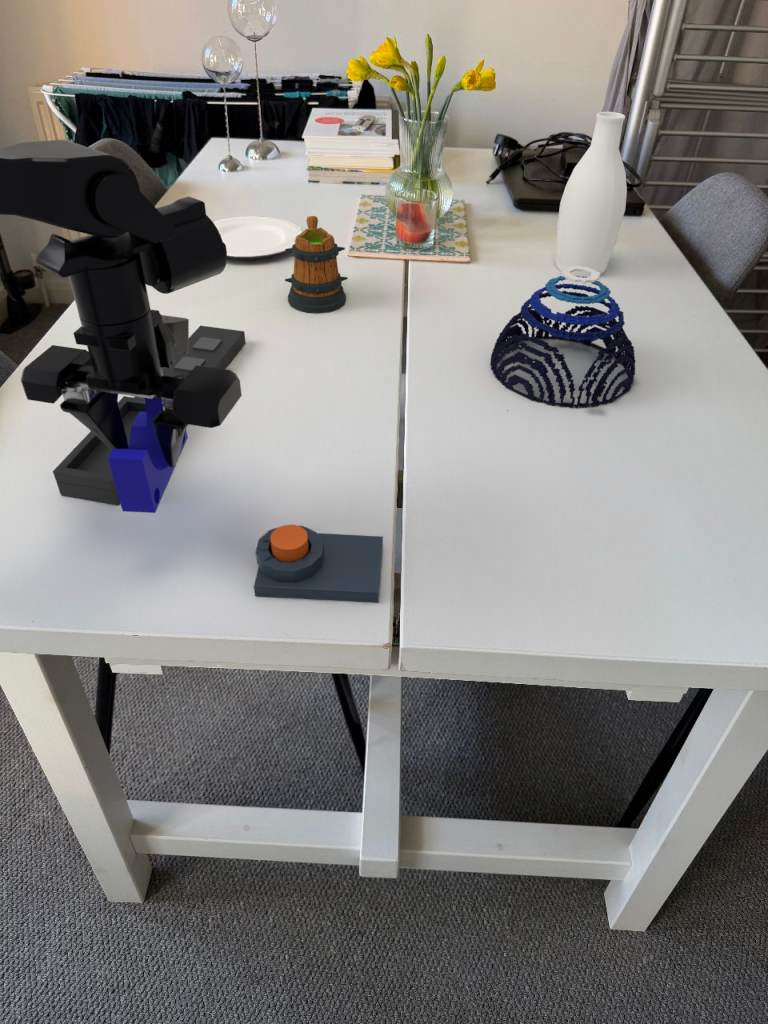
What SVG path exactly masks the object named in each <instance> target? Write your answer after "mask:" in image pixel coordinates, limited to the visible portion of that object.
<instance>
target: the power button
mask: <svg viewBox="0 0 768 1024" xmlns="http://www.w3.org/2000/svg"><path fill="white" fill-rule="evenodd" d="M300 526H301V525H296V524H284V525H281V526H277V527H276V528H277V529H275V528H274V529H275V530H274V531H273V532H272V534H271V537H270V540H271V549H272V554H273V556H274V557H275V558H276V559H278V560H279V561H282V562H294V561H297V560H300V559H302V558H304V557H305V556H306V554H307V553H308V535H307V532H306V531H305V530H304V529H303V528H302V527H300Z"/></svg>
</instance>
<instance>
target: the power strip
mask: <svg viewBox="0 0 768 1024" xmlns="http://www.w3.org/2000/svg"><path fill="white" fill-rule="evenodd" d="M245 345H246V335H245V331H244V330H237V329H230V328H223V327H214V326H209V325H208V326H206V325H199V326H198V328H197V329H196V330H195V331H194V332H193V333H192V334H191V335H190V336H189V352H188V353H183V352H181V353H178V354H174V357H175V363H174V364H173V365H172V366H171V367H170V368H164V369H163V375H164V376H171V377H175V376H177V375H181V374H185V375H188V374H189V373H190V372H191V371H192V370H193V368H194V367H195V366H196V365H197V366H205V367H212V368H219V369H226V370H227V367H228V366H230V364H231V363H232V361H233V360H234V358H236V356H237V355H238V354H239V353H240V351H241V350H242V348H243V347H244V346H245ZM118 406H119V410H120V414H121V418H122V421H123V425H124V429H125V433H126V437H127V442H128V445H129V441H130V434H131V426H132V424H133V422H134V420H135V418H136V417H137V415H138V413H139V412H146V403H145V398H142V397H136V396H128V395H124V396H122V397H121V399H119V400H118ZM111 453H112V450H111V449H110V448H109V447H107V446H106V445H105V444H104V443H103V442H102V441H101V440H100V439H99V438H98V437H97V436H96V435H95V434H94V433H93V432H92V431H91V430H89V432H88V433H87V434H86V436H85V437H83V438H82V439H81V441H80V442H79V443H78V444H77V445H76V446H75V447H74V448H73V449H72V450H71V451H70V452H69V453H68V455H67V456H66V457H65V458H64V459H63V460H62V461H61V462H60V463H59V464H57V466H56V467H55V468H54V469H53V470H52V473H53V476H54V479H55V482H56V485H57V488H58V491H59V494H60V496H63V497H69V498H76V499H81V500H87V501H93V502H99V503H103V504H110V505H115V506H119V505H120V500H119V496H118V493H117V489H116V485H115V482H114V478H113V475H112V471H111V467H110V464H109V460H108V458H109V456H110V454H111Z"/></svg>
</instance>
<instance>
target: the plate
mask: <svg viewBox="0 0 768 1024" xmlns="http://www.w3.org/2000/svg"><path fill="white" fill-rule="evenodd" d="M212 222H213V223H214V224H215V226H216V228H217V229H218V231H219V233H220V236H221V238H222V241H223V242H224V243H225V245H226V250H227V259H228V258H229V259H236V260H257V259H264V258H270V257H273V256H276V255H280V254H283V253H286V252H287V251H285V249H288V248H292V245H294V244H295V242H294V241H295V240H296V237H297V236H298V235H299V234H301V233H302V232H303V231H304V230H302V228H300V226H298V225H297V224H295V223H293V222H291V221H288V220H285V219H282V218H276V217H270V216H261V215H260V216H258V215H257V216H255V215H246V216H245V215H243V216H233V217H228V218H222V219H217V220H215V221H212Z"/></svg>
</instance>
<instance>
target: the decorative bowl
mask: <svg viewBox="0 0 768 1024" xmlns="http://www.w3.org/2000/svg"><path fill="white" fill-rule="evenodd" d="M574 271H583V272H586V273H589V274H590V276H589V277H586V276H585V277H583V276H582V277H581V276H574V275H573V274H571V272H574ZM559 274H560V276H557V277H552V278H550V279H549V280H548V281H547V282H546V284H544V285H545V286H544V287H542V288H539V289H537V290H536V291H534V292H533V294H531V296H530V298H528V299H527V300H526V301H525V302H524V303H523V305H521V307H520V311H519V312H518V313H517V314H515V315H513V316H512V317H511V318H510V319H509V321H508V322H507V323H506V325H504V328H503V329H502V330H501V332H499V335H498V337H497V339H496V340H495V343H494V346H493V349H492V352H491V355H490V363H489V366H490V370H491V371H492V374H493V375H494V378H496V380H497V381H499V383H501V385H502V386H504V387H505V388H506V389H507V390H510V391H511V392H515V393H516V394H518V395H520V396H522V397H523V398H526V399H528V400H530V401H532V402H534V401H535V402H537V403H544V404H546V405H548V406H553V407H555V406H558V407H561V408H562V407H563V408H567V407H568V408H569V409H572V408H576V409H578V408H583V409H584V408H588V407H592V408H594V407H599V406H601V405H608V404H612V403H614V402H615V401H617V400H618V399H620V398H621V397H623V396H624V395H625V394H628V392H630V391H631V389H632V385H633V383H634V379H635V375H636V361H637V360H636V356H635V349H634V348H635V346H633V343H632V340H630V339H629V337H628V335H627V333H626V332H625V329H624V325H625V324H626V322H625V321H624V320H625V319H624V316H625V314H624V311H622V310H620V309H621V307H620V306H619V303H617V301H616V300H615V299H614V298H613V297H611V296H610V294H611V292H612V291H611V289H610V288H609V287H608V286H607V285H604V284H603V283H602V282H601V281H599V280H600V278H601V276H602V274H600V273H599V272H597V271H596V270H594V269H591V268H588V267H583V266H575V265H574V266H572V267H570V266H569V267H567V268H564V269H562V271H559ZM566 280H568V281H571V282H573V283H562V284H561V283H559V282H562V281H566ZM558 283H559V284H558ZM574 283H581V284H574ZM587 283H591V284H592V285H595V286H597V287H598V288H599V289H598V288H597V287H592V286H591V285H590V286H589V285H588V286H587V285H584V284H587ZM582 284H583V285H582ZM561 289H564V290H562V291H561ZM569 289H571V290H575V291H567V290H569ZM576 290H577V291H576ZM578 290H580V291H585V292H588V293H592V294H593V295H589V294H587V293H582V292H578ZM551 297H553V298H555V299H556V300H558V301H560V302H566V303H572V304H577V305H575V306H574V307H571V308H570V309H568V310H566V311H565V312H563V313H562V312H560V311H556V312H555V313H554V312H552V308H550V307H548V306H547V305H545V304H544V303H542V299H543V298H545V299H546V298H551ZM606 300H607V301H608V302H607V301H606ZM595 303H596V304H601V305H602V306H603V305H604V306H603V307H606V308H607V309H608V310H607V312H606V311H603V310H601V309H598V308H596V307H593V306H588V305H590V304H592V305H594V304H595ZM581 304H582V305H581ZM578 305H580V306H578ZM584 305H585V306H584ZM617 318H618V319H617ZM617 320H618V321H617ZM553 322H554V323H553ZM520 325H521V326H520ZM551 325H552V326H551ZM561 326H562V327H561ZM578 326H579V327H578ZM589 327H591V328H589ZM529 328H531V336H530V333H529V331H530V329H529ZM569 328H570V329H569ZM523 329H524V330H523ZM575 329H577V330H575ZM536 330H537V331H536ZM574 330H575V331H574ZM584 330H585V331H584ZM535 331H536V332H535ZM583 331H584V332H583ZM524 332H525V333H524ZM542 339H544V340H542ZM549 339H550V340H560V341H564V340H565V341H569V342H573V343H574V342H575V343H581V344H583V345H585V346H587V347H592V348H595V349H597V350H599V351H597V357H596V358H595V360H593V362H592V363H591V365H590V367H589V368H588V370H586V373H585V375H583V378H584V379H582V380H581V384H579V386H578V390H577V391H578V392H579V393H578V396H577V397H575V396H574V393H575V391H576V388H575V384H576V383H574V380H575V379H573V377H574V375H573V374H572V372H571V370H570V367H568V364H567V362H566V360H565V359H566V356H564V353H560V350H559V348H558V347H557V346H553V345H549V342H547V341H545V340H549ZM597 340H600V341H602V343H603V345H604V347H603V346H601V345H599V344H597V343H594V342H596V341H597ZM525 341H529V342H531V343H532V344H535V345H538V346H540V347H542V348H543V350H545V351H546V352H544V351H542V350H539V349H537V348H535V347H532V346H530V345H528V343H526V342H525ZM517 350H519V351H517ZM523 350H524V351H525V352H527V353H530V354H532V355H535V356H536V357H539V358H543V361H544V362H543V361H542V360H540V359H537V358H532V357H530V356H529V355H528V354H525V353H524V352H522V351H523ZM515 351H517V352H515ZM514 352H515V353H514ZM551 352H552V353H553V354H552V353H551ZM511 353H514V354H512V355H510V354H511ZM605 354H606V355H605ZM506 355H510V356H509V357H507V358H505V356H506ZM553 356H554V359H556V360H557V362H559V363H560V364H559V365H561V368H557V367H556V365H557V363H555V362H554V361H553ZM504 358H505V359H504ZM613 358H614V360H613ZM598 361H600V362H599V364H598V366H597V365H596V364H597V363H598ZM612 362H613V363H612ZM499 363H500V364H499ZM516 363H519V364H517V365H515V364H516ZM498 364H499V365H498ZM512 364H513V365H512ZM510 365H512V366H510ZM524 365H528V366H530V367H529V368H528V367H525V366H524ZM607 365H610V366H608V367H607V368H606V370H605V372H603V373H602V375H601V377H600V378H599V380H598V379H597V378H598V376H599V375H600V373H601V372H602V370H604V368H605V367H606V366H607ZM619 365H621V366H623V369H621V370H620V371H619V372H617V373H616V375H615V376H614V377H613V378H612V379H611V381H609V384H608V381H607V380H608V378H609V377H610V375H612V373H613V372H614V371H615V370H616V368H619ZM508 366H510V367H508ZM507 367H508V368H507ZM505 368H507V369H505ZM548 368H550V370H551V373H553V374H552V375H553V376H555V383H558V385H557V386H558V388H559V389H558V393H559V397H558V399H559V400H560V401H559V402H558V401H557V400H556V399H555V398H556V393H555V389H554V385H553V382H552V380H551V379H550V377H549V375H548V374H549V370H548ZM518 370H519V371H521V372H524V373H526V374H528V375H530V378H532V379H533V381H534V384H537V389H538V393H539V397H537V396H536V395H535V390H534V386H533V384H532V383H531V382H530V380H528V379H526V378H524V377H522V376H520V375H517V374H513V375H511V376H509V375H510V374H511V373H514V372H516V371H518ZM533 370H534V371H536V372H537V374H538V375H539V376H537V374H536V373H535V372H534V371H533ZM561 370H563V372H564V373H565V375H564V377H565V378H566V380H567V382H568V383H569V384H568V387H566V386H567V385H565V383H564V378H563V376H562V373H560V371H561ZM595 370H596V371H595ZM623 375H626V376H627V377H626V378H625V379H623V380H621V381H620V382H618V384H617V385H616V386H615V388H614V389H613V392H612V393H611V396H610V397H609V398H608V399H607V397H608V395H609V393H610V391H611V389H612V387H613V386H614V384H615V383H616V381H618V379H619V378H620V377H621V376H623ZM508 376H509V377H508ZM540 378H541V379H540ZM541 380H543V383H544V385H545V387H544V386H543V384H542V382H541ZM595 383H597V384H596V386H595V388H594V390H593V392H591V390H592V388H593V387H594V386H593V385H594V384H595ZM518 384H520V385H521V386H523V388H524V390H525V393H524V392H522V391H520V390H518V389H517V388H514V387H515V386H517V385H518ZM585 384H586V386H585V387H584V385H585ZM607 385H608V386H607ZM583 387H584V388H583ZM566 388H568V389H569V391H568V390H567V389H566ZM622 388H623V389H622ZM544 389H545V390H544ZM621 389H622V391H621ZM584 390H585V391H586V392H585V397H586V399H585V402H581V400H582V397H583V396H582V395H583V392H584ZM567 391H568V392H569V393H570V395H569V399H571V402H570V401H569V402H565V401H564V400H565V396H566V395H567ZM620 391H621V392H620ZM526 393H527V394H526ZM545 393H546V394H547V400H546V399H544V398H545ZM590 397H591V399H590ZM599 398H602V399H601V401H600V400H599ZM576 400H577V401H576ZM575 401H576V404H575ZM590 401H591V402H590ZM589 402H590V403H589Z"/></svg>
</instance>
